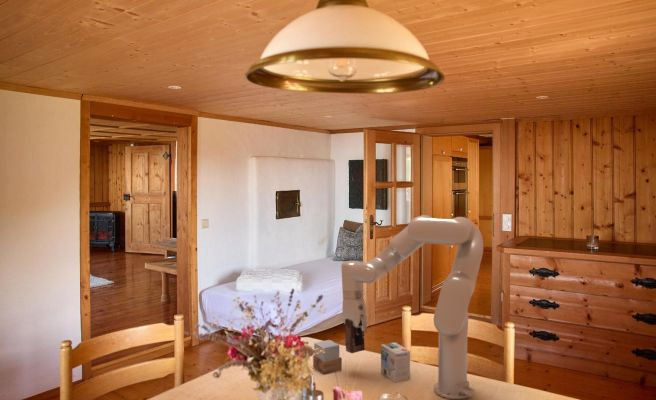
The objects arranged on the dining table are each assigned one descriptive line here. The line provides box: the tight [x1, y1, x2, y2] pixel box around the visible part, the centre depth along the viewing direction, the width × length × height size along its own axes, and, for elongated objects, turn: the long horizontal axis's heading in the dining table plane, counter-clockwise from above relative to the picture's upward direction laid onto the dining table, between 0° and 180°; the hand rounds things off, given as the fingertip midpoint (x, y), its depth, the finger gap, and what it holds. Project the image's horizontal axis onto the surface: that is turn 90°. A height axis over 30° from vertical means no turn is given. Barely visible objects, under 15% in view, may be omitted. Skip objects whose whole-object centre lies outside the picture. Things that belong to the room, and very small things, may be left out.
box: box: [344, 319, 365, 354], centre depth 181 cm, size 6×4×12 cm
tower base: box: [312, 355, 343, 376], centre depth 188 cm, size 8×8×5 cm
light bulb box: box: [380, 341, 411, 383], centre depth 181 cm, size 11×7×11 cm, turn 23°
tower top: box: [313, 339, 340, 361], centre depth 188 cm, size 7×7×5 cm
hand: (355, 342), depth 181 cm, fingers closed on box, 4 cm apart
